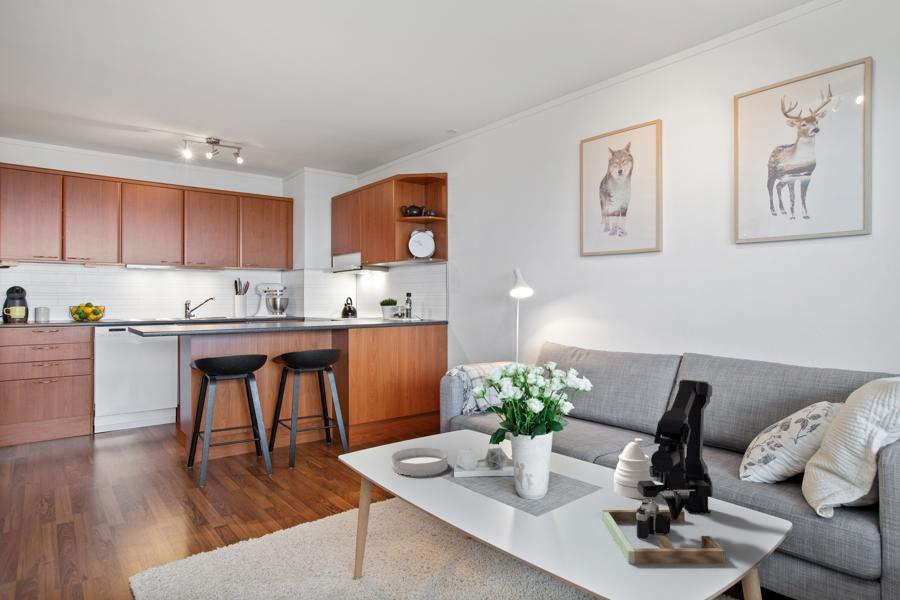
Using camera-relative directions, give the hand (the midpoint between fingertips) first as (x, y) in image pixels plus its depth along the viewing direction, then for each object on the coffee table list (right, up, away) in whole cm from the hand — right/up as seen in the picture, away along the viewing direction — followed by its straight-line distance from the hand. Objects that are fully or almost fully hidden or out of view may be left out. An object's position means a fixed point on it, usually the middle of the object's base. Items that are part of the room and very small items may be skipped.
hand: (674, 519), depth 150 cm
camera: (-5, -5, +1) cm, 7 cm away
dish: (-74, -6, +63) cm, 98 cm away
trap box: (-6, -4, -3) cm, 8 cm away
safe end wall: (-17, -4, -3) cm, 18 cm away
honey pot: (0, -4, +33) cm, 33 cm away
